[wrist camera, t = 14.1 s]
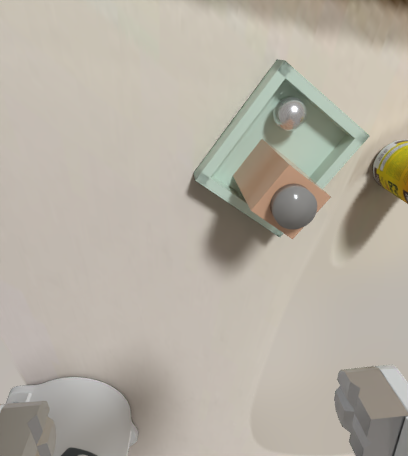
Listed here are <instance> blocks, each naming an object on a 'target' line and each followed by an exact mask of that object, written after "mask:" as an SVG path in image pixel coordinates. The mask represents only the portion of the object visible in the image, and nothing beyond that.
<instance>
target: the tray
mask: <svg viewBox="0 0 408 456" xmlns="http://www.w3.org/2000/svg"><path fill="white" fill-rule="evenodd" d="M286 97H296V98H298V99H300V100H302V101H303V103H304V104H305V106H306V109H307V117H306V120H305V122H304V123H303V125H302V126H301V127H299V128H298V129H296V130H293V131H285V130H282V129H280V128H279V127H278V126H277V125H276V123H275V121H274V118H273V112H274V109H275V106H276V105H277V103H278V102H279V101H280V100H282V99H284V98H286ZM368 137H369V135H368V134H367V133H366V132H365V131H364V130H363V129H361V128H360V127H359V126H358V125H357V124H356V123H355V122H354V121H352V120H351V119H350V118H349V117H348V116H347V115H346V114H345V113H343V112H342V111H341V110H340V109H339V108H338V107H337V106H336V105H334V104H333V103H332V102H331V101H330V100H329V99H328V98H327V97H325V96H324V95H323V94H322V93H321V92H320V91H319V90H318V89H316V88H315V87H314V86H313V85H312V84H311V83H310V82H309V81H307V80H306V79H305V78H304V77H303V76H302V75H301V74H300V73H298V72H297V71H296V70H295V69H294V68H293V67H292V66H291V65H289V64H288V63H287V62H286V61H285V60H276V61H275V63H274V64H273V66H272V67H271V68H270V70H269V71H268V72H267V74H266V75H265V76H264V78H263V79H262V80H261V82H260V83H259V85H258V86H257V87H256V89H255V90H254V91H253V93H252V94H251V95H250V97H249V98H248V99H247V101H246V102H245V104H244V105H243V106H242V108H241V109H240V110H239V112H238V113H237V114H236V116H235V117H234V119H233V120H232V121H231V123H230V124H229V125H228V127H227V128H226V129H225V131H224V132H223V133H222V135H221V136H220V138H219V139H218V140H217V142H216V143H215V144H214V146H213V147H212V148H211V150H210V151H209V152H208V154H207V155H206V157H205V158H204V159H203V161H202V162H201V163H200V165H199V166H198V167H197V169H196V170H195V171H194V177H195V181H197V182H198V183H200V184H201V185H203V186H204V187H206V188H207V189H209V190H210V191H212V192H213V193H214V194H216V195H217V196H219V197H220V198H222V199H223V200H225V201H226V202H228V203H229V204H231V205H232V206H234V207H235V208H237V209H238V210H240V211H241V212H243V213H244V214H246V215H247V216H249V217H250V218H252V219H253V220H255V221H256V222H258V223H259V224H261V225H262V226H264V227H265V228H267V229H268V230H269V231H271V232H272V233H274V234H275V235H277V236H278V237H281V236H282V235H283V232H281V231H280V230H278V229H277V228H275V227H274V226H273V225H271V224H270V223H268V222H267V221H265V220H264V219H262V218H261V217H259V216H258V215H256V214H255V213H254V212H252V211H251V210H250V208H249V206H248V204H247V202H246V200H245V198H244V196H243V194H242V192H241V191H240V189H239V187H238V185H237V183H236V181H235V179H234V177H233V175H234V173H235V172H236V171H237V170H238V168H239V167H240V166H241V165H242V163H243V162H244V161H245V159H246V158H247V157H248V156H249V154H250V153H251V152H252V151H253V149H254V148H255V147H256V145H257V144H258V143H259V142H260V140H261V139H263V140H265V141H266V142H267V143H268V144H270V145H271V146H272V147H273V148H275V149H276V150H277V151H279V152H280V153H281V154H282V155H284V156H285V157H286V158H288V159H289V160H290V161H291V162H293V163H294V164H295V165H296V166H298V167H299V168H300V169H301V170H302V171H303V172H304V173H305V174H306V175H307V176H309V177H310V178H311V179H312V180H313V181H314V182H315V183H316V184H317V185H318V186H320V187H321V188H322V189H323V188H324V187H325V186H326V185H327V184H328V183H329V181H330V180H331V179H332V178H333V177H334V176H335V175H336V173H337V172H338V171H339V170H340V169H341V168H342V167H343V166H344V164H345V163H346V162H347V161H348V160H349V159H350V158H351V157H352V155H353V154H354V153H355V152H356V151H357V150H358V149H359V147H360V146H361V145H362V144H363V143H364V142H365V141H366V140H367V138H368Z"/></svg>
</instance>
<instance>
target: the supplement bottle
mask: <svg viewBox="0 0 408 456" xmlns="http://www.w3.org/2000/svg"><path fill="white" fill-rule="evenodd" d="M373 174H374V178H375V180H376V181H377V183H378V184H379V185H380V186H382V187H383V188H385V189H386V190H388V191H389V192H391V193H392V194H394V195H395V196H397V197H398V198H400V199H401V200H403V201H404V202H406V203H407V204H408V140H399V141H395V142H392V143H390V144H389V145H387V146H386V147H384V148H383V149H382V150H381V151H380V153H379V154H378V156H377V157H376V159H375V162H374V166H373Z"/></svg>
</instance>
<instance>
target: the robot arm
mask: <svg viewBox="0 0 408 456" xmlns="http://www.w3.org/2000/svg"><path fill="white" fill-rule="evenodd" d="M337 380H338V382H339V384H340V387H339V388H338V389H337V390H336V391H335V398H334V401H335V408H336V412H337V415H338V418H339V420H340V423H341V425H342V427H344V428H345V429H346V430H348V431H349V432H350V433H351V435H350V439H349V442H350V445H351V446H352V449H353V451H354V453H355V455H356V456H408V382H407V381H406V380H405V378H404V377H403V375H402V374H401V373H400V371H399V370H398V369H397V367H395V366H394V365H383V366H375V367H373V366H371V367H363V368H354V369H346V370H340V372H339V373H338V378H337ZM137 439H138V430H137V428H136V427H135V425H134V424H133V423H132V420H131V410H130V406H129V404H128V402H127V400H126V399H125V397H124V396H123V395H122V394H121V393H120V392H119V391H118V390H116V389H115V388H113V387H112V386H110V385H108V384H106V383H103V382H101V381H98V380H94V379H89V378H82V377H67V378H60V379H55V380H51V381H48V382H46V383H43V384H39V385H25V386H16V387H14V388H12V389H11V391H10V393H9V396H8V399H7V402H6V404H0V456H128V450H129V447H130V446H131V445H133V444H134V443H135V442H136V441H137Z"/></svg>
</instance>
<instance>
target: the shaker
mask: <svg viewBox="0 0 408 456" xmlns="http://www.w3.org/2000/svg"><path fill="white" fill-rule="evenodd" d="M233 177H234V179H235V181H236V183H237V185H238V187H239V189H240V191H241V192H242V194H243V196H244V198H245V200H246V202H247V204H248V206H249V208H250V210H251V211H252V212H254V213H255V214H256V215H258V216H259V217H261V218H262V219H264V220H265V221H267V222H268V223H270V224H271V225H273V226H274V227H275V228H277V229H278V230H280V231H281V232H283V233H284V234H286V235H287V236H289V237H290V238H291V239H293V238H294V237H295V236H296V235H297V234H298V233H299V232H300V231H301V229H302V228H303V227H304V226H306V225H307V224H309V223H310V222H311V221H312V219H313V218H314V217H315V214H316V213H317V212H318V211H319V210H320V208H321V207H322V206H323V205H324V204H325V203H326V202H327V201H328V200H329V199H330V196H329V195H328V194H327V193H326V192H325V191H324V190H323V189H322V188H321V187H320V186H318V185H317V184H316V183H315V182H314V181H313V180H312V179H311V178H310V177H309V176H307V175H306V174H305V173H304V172H303V171H302V170H301V169H300V168H299V167H298V166H296V165H295V164H294V163H293V162H291V161H290V160H289V159H288V158H286V157H285V156H284V155H282V154H281V153H280V152H279V151H277V150H276V149H275V148H273V147H272V146H271V145H270V144H268V143H267V142H266V141H265V140H263V139H261V140H260V142H259V143H258V144H257V145H256V147H255V148H254V149H253V151H252V152H251V153H250V154H249V156H248V157H247V158H246V159H245V161H244V162H243V163H242V165H241V166H240V167H239V168H238V170H237V171H236V172H235V173H234V175H233Z"/></svg>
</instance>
